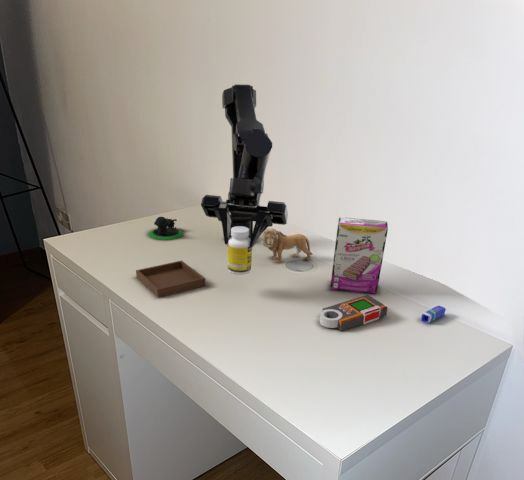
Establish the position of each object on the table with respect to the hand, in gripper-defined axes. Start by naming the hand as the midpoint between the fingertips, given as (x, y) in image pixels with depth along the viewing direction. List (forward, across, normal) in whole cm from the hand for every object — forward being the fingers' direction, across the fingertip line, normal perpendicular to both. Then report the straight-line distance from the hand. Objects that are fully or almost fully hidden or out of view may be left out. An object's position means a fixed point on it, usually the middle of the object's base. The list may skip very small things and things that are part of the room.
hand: (238, 245), depth 118 cm
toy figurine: (-14, -29, +32) cm, 46 cm away
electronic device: (+12, +26, +5) cm, 29 cm away
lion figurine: (-8, +8, +25) cm, 27 cm away
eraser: (+9, +44, +8) cm, 45 cm away
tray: (+7, -17, +10) cm, 21 cm away
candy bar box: (+1, +26, +16) cm, 31 cm away
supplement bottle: (+4, 0, +6) cm, 7 cm away
